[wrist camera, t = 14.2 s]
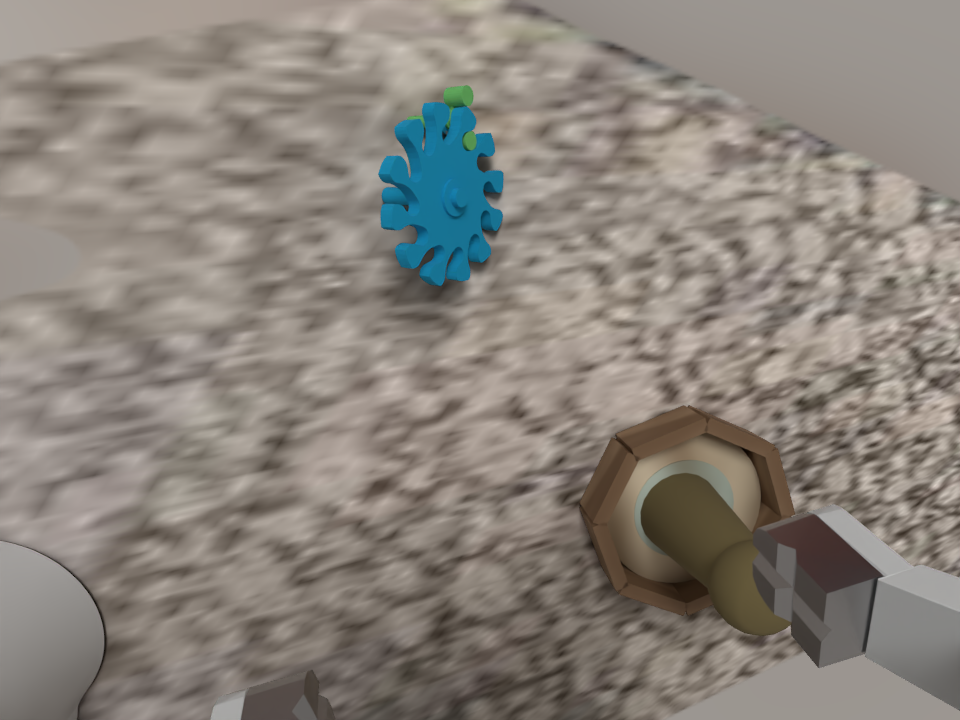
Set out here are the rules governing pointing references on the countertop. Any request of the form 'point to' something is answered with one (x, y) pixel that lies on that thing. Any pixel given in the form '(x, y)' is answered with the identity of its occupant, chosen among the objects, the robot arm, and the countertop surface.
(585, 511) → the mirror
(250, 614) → the countertop surface
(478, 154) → the gear
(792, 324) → the countertop surface
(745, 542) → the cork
